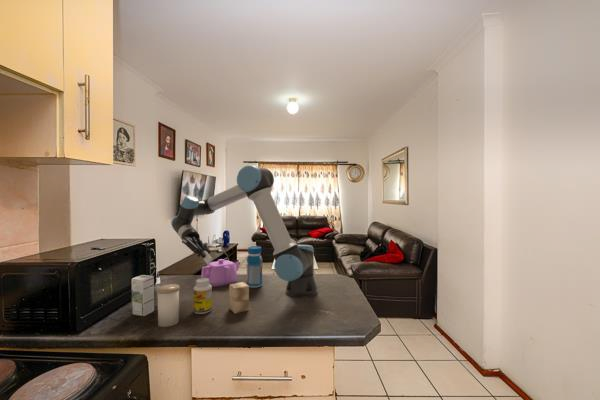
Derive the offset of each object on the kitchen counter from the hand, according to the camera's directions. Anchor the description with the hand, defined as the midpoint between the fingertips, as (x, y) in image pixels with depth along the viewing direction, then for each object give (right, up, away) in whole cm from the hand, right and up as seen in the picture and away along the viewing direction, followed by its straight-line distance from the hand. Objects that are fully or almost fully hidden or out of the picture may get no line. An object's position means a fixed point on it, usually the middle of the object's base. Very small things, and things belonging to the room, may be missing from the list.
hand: (209, 261), depth 117 cm
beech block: (+13, -19, -4) cm, 23 cm away
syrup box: (-24, -19, -8) cm, 32 cm away
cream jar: (-10, -19, -16) cm, 27 cm away
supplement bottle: (-1, -19, -6) cm, 20 cm away
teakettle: (-4, -19, +33) cm, 38 cm away
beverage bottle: (+15, -19, +26) cm, 35 cm away
